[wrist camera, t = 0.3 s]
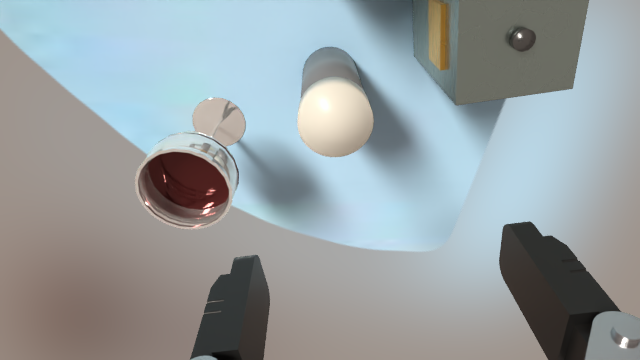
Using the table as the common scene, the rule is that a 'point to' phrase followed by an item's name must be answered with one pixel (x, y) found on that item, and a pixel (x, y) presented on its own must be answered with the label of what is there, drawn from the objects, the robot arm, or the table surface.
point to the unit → (498, 46)
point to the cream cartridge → (333, 104)
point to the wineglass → (193, 169)
